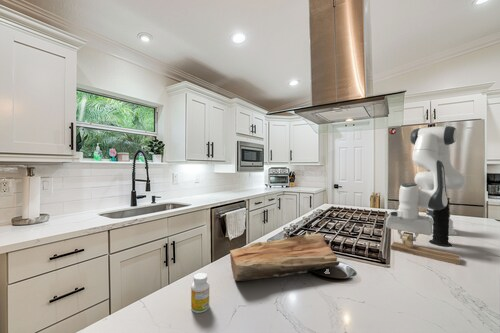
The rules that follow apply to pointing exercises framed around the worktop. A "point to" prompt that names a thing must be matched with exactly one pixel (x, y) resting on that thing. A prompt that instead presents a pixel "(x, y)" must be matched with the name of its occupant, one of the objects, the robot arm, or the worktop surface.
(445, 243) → the handle grip
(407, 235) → the beige mallet
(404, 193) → the robot arm
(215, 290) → the worktop surface
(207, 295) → the supplement bottle
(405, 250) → the board
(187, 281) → the worktop surface
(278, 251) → the log
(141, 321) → the worktop surface
